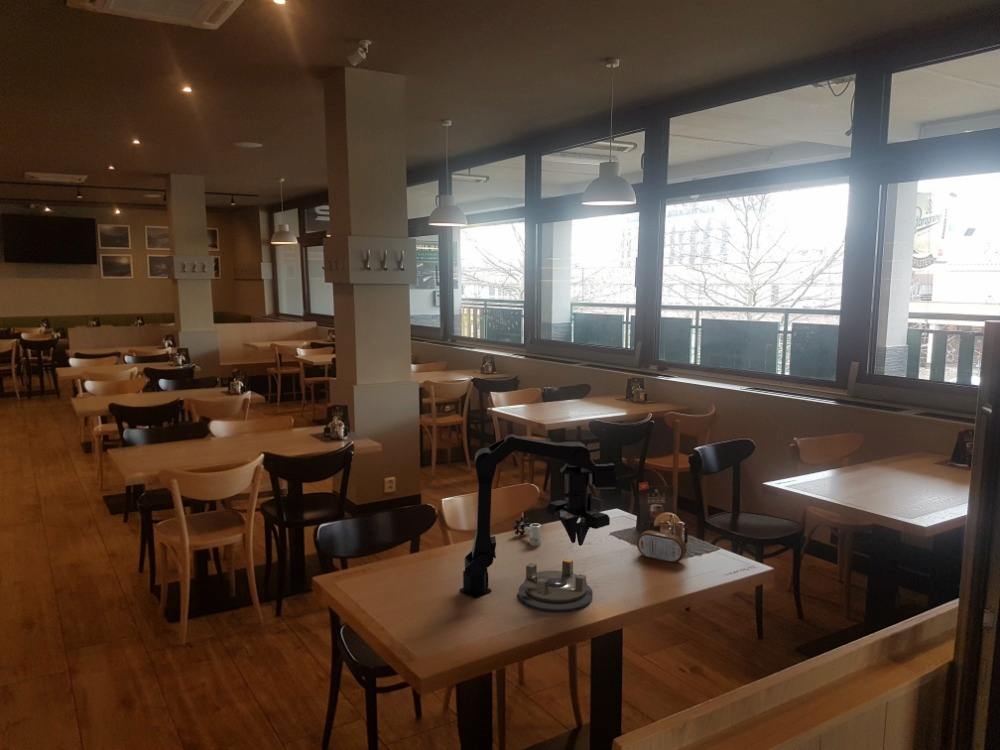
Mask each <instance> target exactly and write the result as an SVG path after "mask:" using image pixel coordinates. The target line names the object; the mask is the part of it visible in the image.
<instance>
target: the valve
mask: <svg viewBox="0 0 1000 750" xmlns="http://www.w3.org/2000/svg"><path fill="white" fill-rule="evenodd" d="M529 522H530V519H529V518H528V517H525V518H524V517H523V516H520V517H519V520H518V519H515V520H514V523H516V524H515V525H513V526H512V529H513V530H515V531H514V534H515V535H517V536H518V535H520V536H521V535H525V533H526V535H527V536H528V537H529V545H530V546H532V547H539V546H541V545H542V537H543V535H542V534H543V533H542V525H541V524H540V523H529ZM520 523H521V524H520ZM519 528H520V529H519Z"/></svg>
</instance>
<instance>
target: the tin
mask: <svg viewBox="0 0 1000 750" xmlns="http://www.w3.org/2000/svg"><path fill="white" fill-rule="evenodd" d="M636 541H637V542H636V545H637V550H638V551H639V552H640V554H641V555H643V556H644V557H646V558H648V559H652V560H656V561H661V562H666V561H667V563H670V562H672V564H675V563H677V562H680V561H681V560H682V559H683V558H684V557H685V555H686V553H687V547H686V544H685V542H684V540H682V538H680V537H679V536H678V535H675V534H671V533H667V532H660V531H657V530H652V529H650V530H649V529H648V530H647V529H646V530H644V531H642V532H641V534H640V535H639V536H638V538H637V540H636Z"/></svg>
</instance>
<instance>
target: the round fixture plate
mask: <svg viewBox="0 0 1000 750" xmlns="http://www.w3.org/2000/svg"><path fill="white" fill-rule="evenodd" d="M561 563H562V564H561V567H562V568H561V570H544V571H538V572H537V567H538V566H537V563H534V562H533V563H532V562H529V563H528V564H527V565H525V579H524V581H523V583H524V591H525V593H526V595H527V596H529V597H530V598H532V599H534V600H537V601H540V602H544V603H552V604H564V603H571V602H575V601H578V600H580V599H582V598H583V597H585V596H586V594H587V585H588V583H587V575H586V574H581V573H578V574H576V573H574V560H573V559H567V558H565V559H564V560H562V562H561Z"/></svg>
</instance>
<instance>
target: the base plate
mask: <svg viewBox="0 0 1000 750" xmlns="http://www.w3.org/2000/svg"><path fill="white" fill-rule="evenodd" d="M593 598H594V597H593V589H592V587H591V586H590V585H589V584H587V594H586V596H585V597H583V598H582V599H580V600H578V601H575V602H571V603H564V604H552V603H544V602H540V601H537V600H534V599H532V598H530V597H529V596H527V595H526V593H525V591H524V582H522V583H521V584H520V586H519V588H518V599H519V600H520V601H521V602H522V604H524V605H526V606H527V607H529V608H532V609H534V610H538V611H540V612H541V611H542V612H546V613H568V612H574V611H578V610H581V609H584V608H585V607H588V606H589V605H590V604H591V602H592V601H593Z"/></svg>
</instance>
